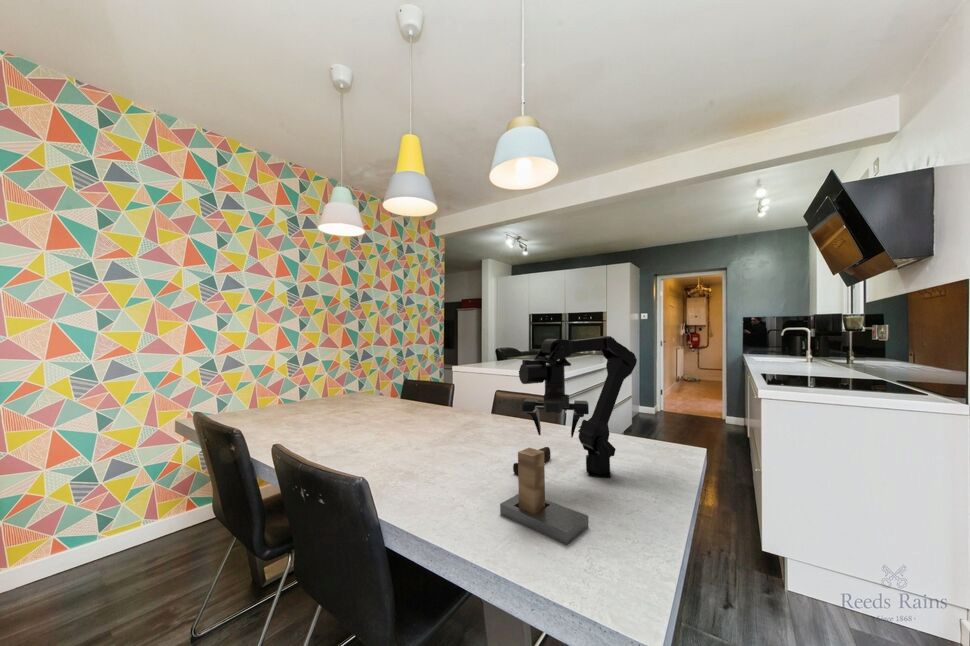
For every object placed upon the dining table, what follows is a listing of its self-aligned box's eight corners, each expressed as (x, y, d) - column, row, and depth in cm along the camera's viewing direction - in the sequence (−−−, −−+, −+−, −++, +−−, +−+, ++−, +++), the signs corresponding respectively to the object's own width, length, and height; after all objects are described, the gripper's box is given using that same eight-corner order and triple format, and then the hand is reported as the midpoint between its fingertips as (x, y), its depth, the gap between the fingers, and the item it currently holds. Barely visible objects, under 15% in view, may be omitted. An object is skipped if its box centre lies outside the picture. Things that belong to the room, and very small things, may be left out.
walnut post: (530, 509, 86) (529, 447, 87) (545, 515, 83) (544, 451, 84) (518, 516, 83) (517, 452, 83) (534, 523, 80) (533, 456, 80)
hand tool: (523, 478, 105) (522, 462, 105) (512, 474, 108) (512, 459, 108) (557, 461, 119) (557, 447, 119) (547, 458, 122) (547, 444, 122)
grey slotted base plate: (500, 514, 84) (500, 503, 84) (523, 501, 91) (523, 491, 91) (567, 545, 72) (566, 532, 72) (588, 527, 78) (588, 515, 78)
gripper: (517, 385, 98) (518, 442, 97) (588, 387, 93) (589, 447, 92) (524, 379, 109) (525, 431, 108) (587, 381, 103) (589, 435, 103)
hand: (555, 435), depth 103 cm, fingers open, 9 cm apart
